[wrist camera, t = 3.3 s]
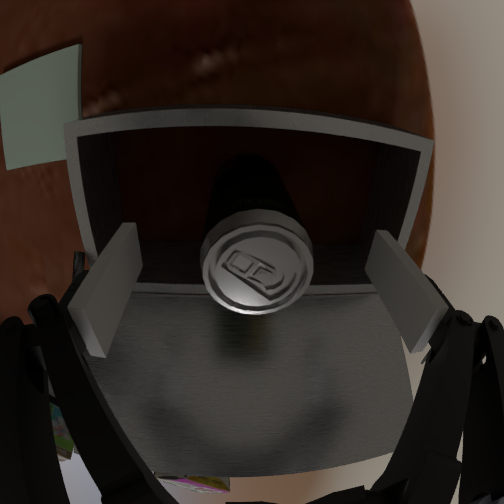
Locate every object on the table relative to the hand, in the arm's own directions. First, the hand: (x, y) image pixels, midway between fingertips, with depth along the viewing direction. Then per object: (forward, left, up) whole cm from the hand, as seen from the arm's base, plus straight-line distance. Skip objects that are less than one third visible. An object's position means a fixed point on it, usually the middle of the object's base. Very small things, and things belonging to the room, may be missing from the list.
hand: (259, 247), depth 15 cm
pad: (-8, -19, -9) cm, 23 cm away
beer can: (0, 0, -10) cm, 10 cm away
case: (+2, -1, -9) cm, 10 cm away
